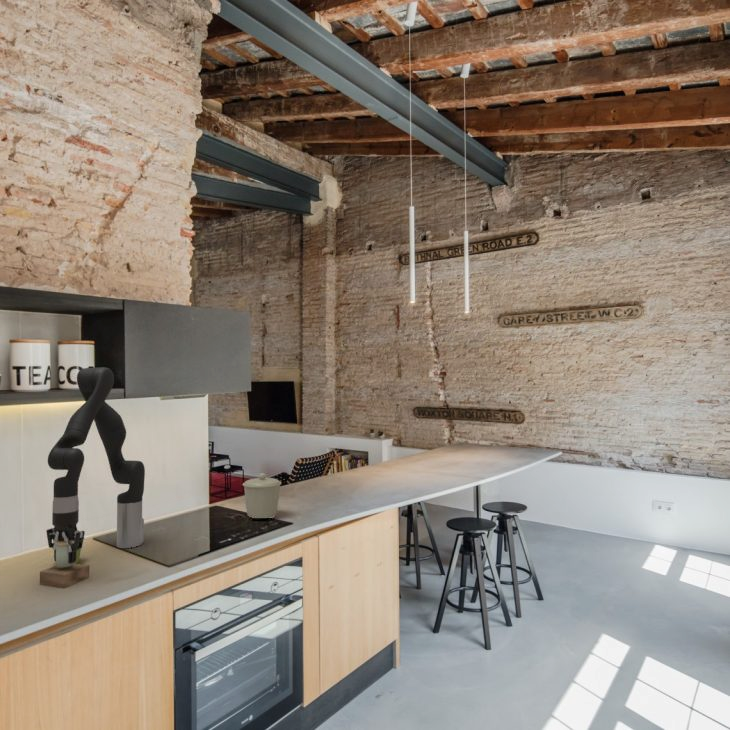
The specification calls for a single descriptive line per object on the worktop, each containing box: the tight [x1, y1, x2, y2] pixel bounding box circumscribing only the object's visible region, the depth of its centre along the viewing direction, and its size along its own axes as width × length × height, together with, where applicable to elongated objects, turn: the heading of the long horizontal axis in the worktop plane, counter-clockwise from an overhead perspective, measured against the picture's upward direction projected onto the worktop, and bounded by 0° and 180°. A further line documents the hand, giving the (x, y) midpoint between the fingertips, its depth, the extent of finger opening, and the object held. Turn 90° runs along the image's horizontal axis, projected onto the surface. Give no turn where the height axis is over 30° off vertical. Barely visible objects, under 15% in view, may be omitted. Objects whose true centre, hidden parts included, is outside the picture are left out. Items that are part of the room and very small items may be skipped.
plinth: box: [39, 563, 90, 589], centre depth 178 cm, size 10×10×4 cm
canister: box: [242, 472, 282, 518], centre depth 259 cm, size 18×18×21 cm
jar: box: [55, 540, 74, 568], centre depth 178 cm, size 5×5×8 cm
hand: (65, 561), depth 178 cm, fingers closed on jar, 5 cm apart
